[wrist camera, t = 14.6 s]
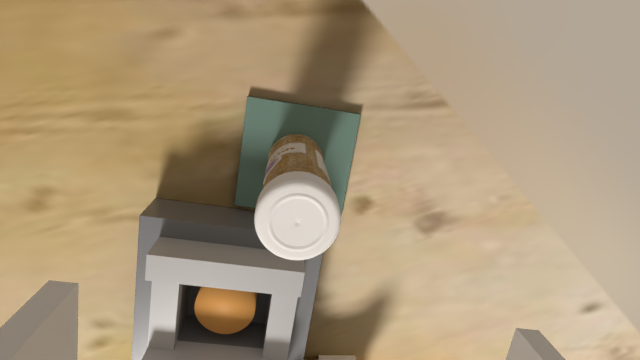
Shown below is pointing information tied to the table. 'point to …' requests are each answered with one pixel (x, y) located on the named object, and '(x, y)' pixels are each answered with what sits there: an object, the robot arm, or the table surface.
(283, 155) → the sprinkles bottle
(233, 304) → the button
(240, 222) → the grey square holder
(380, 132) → the table surface
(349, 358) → the bracket
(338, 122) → the mat
